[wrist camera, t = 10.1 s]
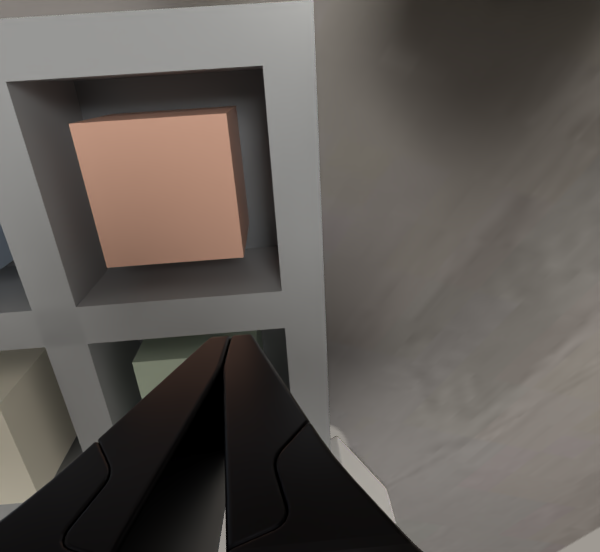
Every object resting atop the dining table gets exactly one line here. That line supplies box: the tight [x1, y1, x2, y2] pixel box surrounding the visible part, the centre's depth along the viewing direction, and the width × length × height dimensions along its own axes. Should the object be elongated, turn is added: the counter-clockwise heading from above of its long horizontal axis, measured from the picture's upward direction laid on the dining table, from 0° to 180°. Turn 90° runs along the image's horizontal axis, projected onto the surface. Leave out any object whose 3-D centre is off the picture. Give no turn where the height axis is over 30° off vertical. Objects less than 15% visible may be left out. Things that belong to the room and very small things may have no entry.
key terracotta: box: [69, 106, 249, 268], centre depth 17 cm, size 5×5×4 cm
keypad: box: [0, 0, 331, 520], centre depth 19 cm, size 20×20×5 cm
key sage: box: [132, 330, 264, 399], centre depth 21 cm, size 5×5×4 cm
